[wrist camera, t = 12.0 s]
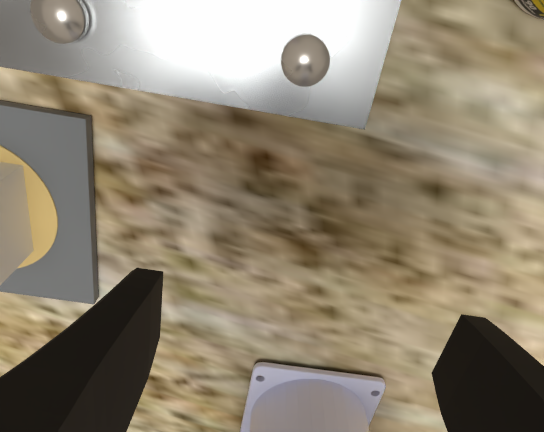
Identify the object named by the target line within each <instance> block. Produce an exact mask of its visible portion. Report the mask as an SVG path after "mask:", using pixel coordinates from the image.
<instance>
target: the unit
mask: <svg viewBox="0 0 544 432" xmlns="http://www.w3.org/2000/svg"><path fill="white" fill-rule="evenodd" d="M400 3H401V0H0V67H5V68H11V69H17V70H23V71H29V72H34V73H40V74H46V75H52V76H58V77H63V78H69V79H75V80H81V81H87V82H92V83H98V84H104V85H110V86H116V87H121V88H127V89H133V90H139V91H145V92H150V93H156V94H162V95H168V96H174V97H179V98H185V99H191V100H197V101H203V102H208V103H214V104H220V105H226V106H232V107H237V108H243V109H249V110H255V111H261V112H266V113H272V114H278V115H284V116H290V117H295V118H301V119H307V120H313V121H319V122H324V123H330V124H336V125H342V126H348V127H353V128H359V129H365V127H366V124H367V120H368V117H369V113H370V110H371V106H372V102H373V99H374V95H375V92H376V88H377V85H378V81H379V78H380V74H381V71H382V67H383V63H384V60H385V56H386V53H387V49H388V46H389V42H390V39H391V35H392V32H393V28H394V24H395V21H396V17H397V14H398V10H399V7H400Z"/></svg>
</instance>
